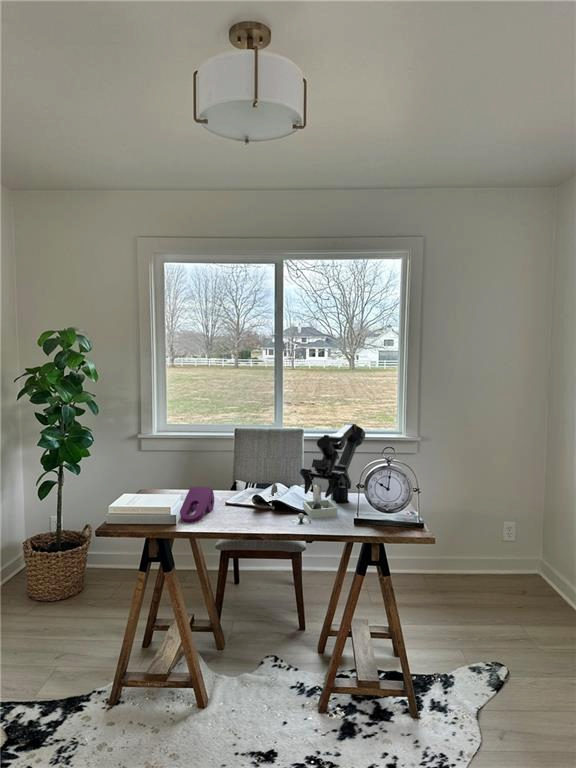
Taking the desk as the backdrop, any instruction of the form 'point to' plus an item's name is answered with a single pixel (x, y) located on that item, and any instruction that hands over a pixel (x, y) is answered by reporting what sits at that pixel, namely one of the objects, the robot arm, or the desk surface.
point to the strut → (316, 497)
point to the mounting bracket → (197, 503)
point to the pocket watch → (274, 488)
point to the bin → (323, 512)
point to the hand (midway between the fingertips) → (315, 495)
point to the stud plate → (301, 520)
